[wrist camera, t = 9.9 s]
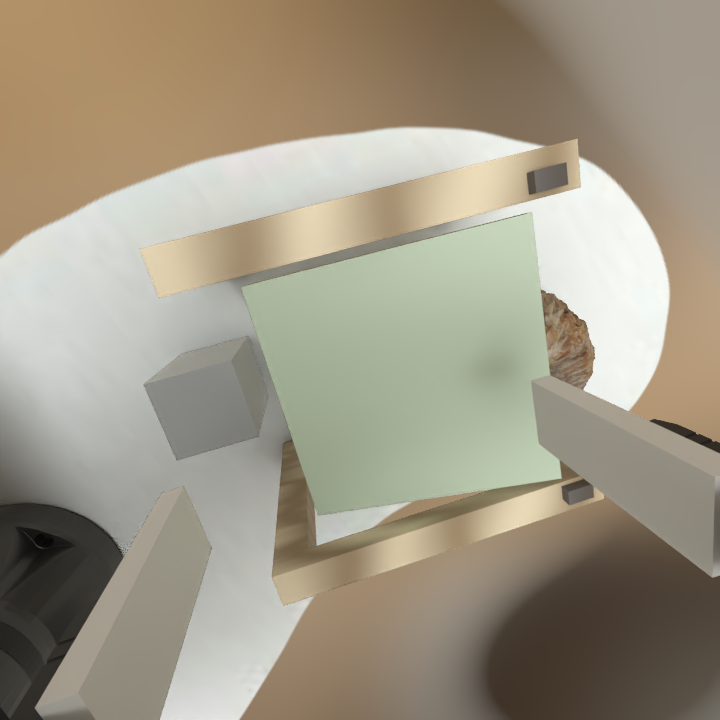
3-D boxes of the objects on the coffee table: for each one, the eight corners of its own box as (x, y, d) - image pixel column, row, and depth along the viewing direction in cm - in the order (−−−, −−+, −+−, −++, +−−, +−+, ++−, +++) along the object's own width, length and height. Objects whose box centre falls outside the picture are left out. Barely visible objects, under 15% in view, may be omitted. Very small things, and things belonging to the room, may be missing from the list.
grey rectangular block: (258, 436, 25) (268, 395, 33) (231, 360, 24) (248, 335, 32) (176, 460, 25) (205, 413, 33) (143, 384, 23) (181, 353, 31)
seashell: (528, 379, 41) (632, 389, 33) (472, 440, 37) (575, 470, 29) (482, 267, 37) (589, 244, 28) (413, 322, 33) (514, 315, 24)
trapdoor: (327, 479, 26) (317, 515, 23) (263, 279, 22) (240, 287, 19) (537, 444, 24) (561, 478, 21) (508, 216, 20) (532, 212, 17)
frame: (290, 462, 35) (282, 615, 20) (218, 254, 30) (133, 248, 15) (482, 403, 36) (611, 504, 21) (447, 195, 31) (586, 134, 16)
